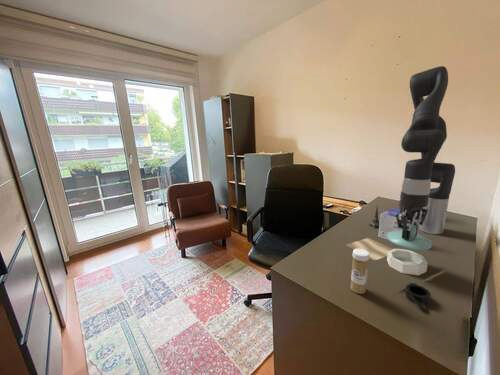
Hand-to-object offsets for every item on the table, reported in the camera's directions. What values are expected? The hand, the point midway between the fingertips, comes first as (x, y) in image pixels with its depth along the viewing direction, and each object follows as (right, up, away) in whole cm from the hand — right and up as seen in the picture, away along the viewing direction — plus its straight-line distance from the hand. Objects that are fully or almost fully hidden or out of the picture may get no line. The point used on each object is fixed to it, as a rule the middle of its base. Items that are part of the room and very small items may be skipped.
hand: (408, 237), depth 76 cm
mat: (-5, -9, +15) cm, 18 cm away
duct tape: (-7, -16, -12) cm, 21 cm away
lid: (0, -1, 0) cm, 1 cm away
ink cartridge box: (+9, -6, +23) cm, 26 cm away
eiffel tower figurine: (+8, -4, +35) cm, 37 cm away
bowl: (+1, -11, +3) cm, 12 cm away
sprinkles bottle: (-22, -15, -8) cm, 28 cm away
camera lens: (+35, +2, +49) cm, 61 cm away
